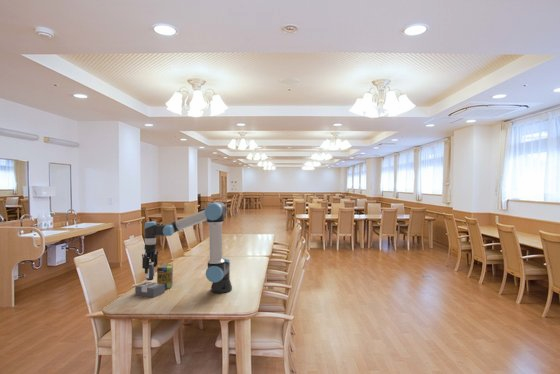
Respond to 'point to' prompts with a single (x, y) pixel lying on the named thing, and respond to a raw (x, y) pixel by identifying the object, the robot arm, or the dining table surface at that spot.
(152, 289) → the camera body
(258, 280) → the dining table surface
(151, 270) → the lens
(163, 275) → the protein box
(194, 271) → the dining table surface
